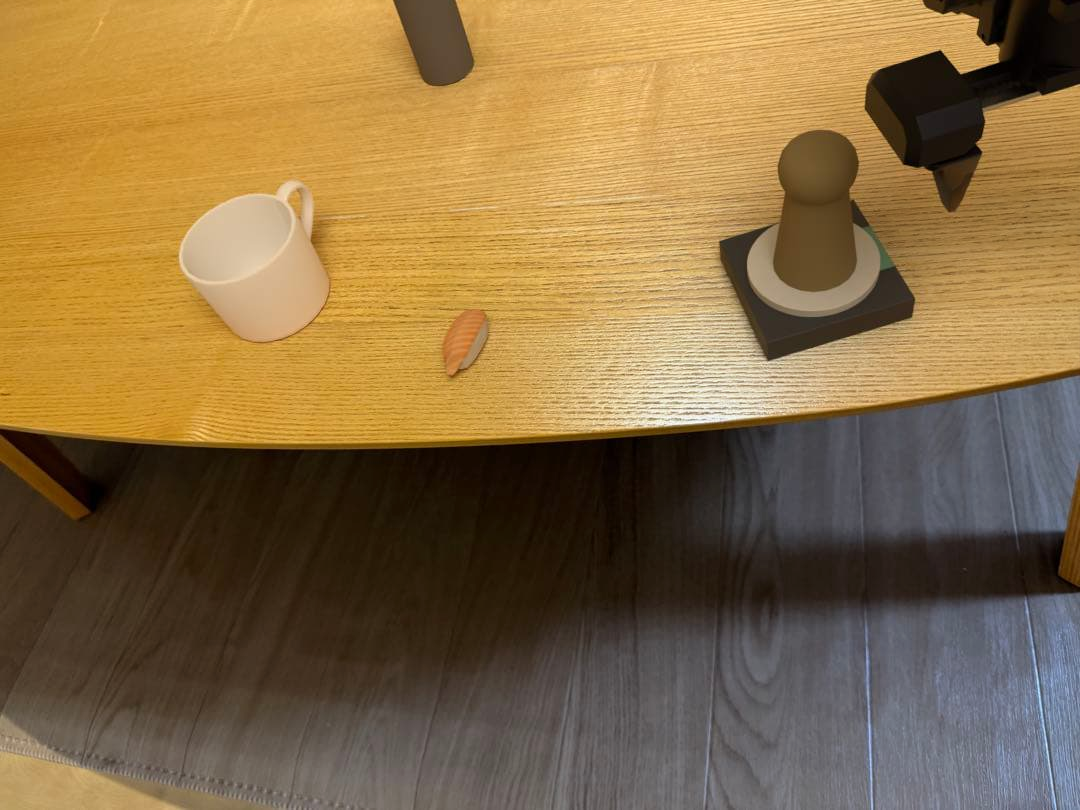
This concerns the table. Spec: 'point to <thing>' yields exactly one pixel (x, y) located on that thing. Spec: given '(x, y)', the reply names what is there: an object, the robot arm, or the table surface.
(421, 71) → the bottle
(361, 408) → the table surface
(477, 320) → the sushi
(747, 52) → the table surface
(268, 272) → the mug
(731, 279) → the scale
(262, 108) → the table surface
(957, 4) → the robot arm
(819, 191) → the brown chess pawn
